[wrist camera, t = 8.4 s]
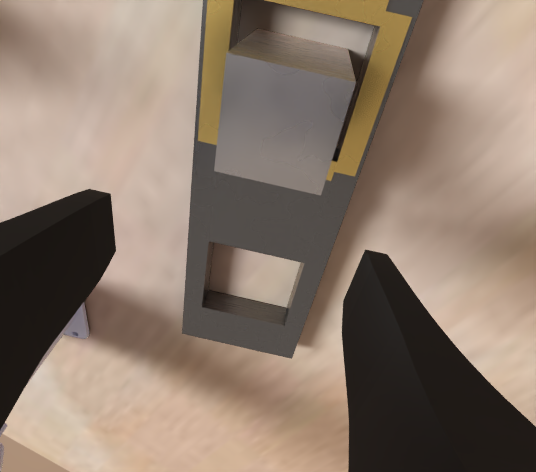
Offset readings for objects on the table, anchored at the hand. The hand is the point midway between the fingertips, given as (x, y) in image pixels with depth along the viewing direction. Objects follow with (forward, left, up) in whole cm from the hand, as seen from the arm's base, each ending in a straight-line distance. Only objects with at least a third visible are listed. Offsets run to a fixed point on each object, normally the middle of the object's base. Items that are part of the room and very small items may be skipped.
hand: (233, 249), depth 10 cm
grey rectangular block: (0, +2, -10) cm, 10 cm away
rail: (0, -3, -10) cm, 10 cm away
